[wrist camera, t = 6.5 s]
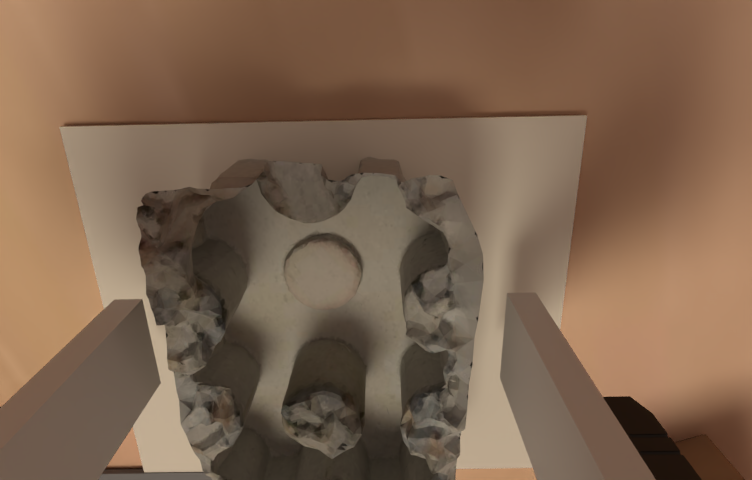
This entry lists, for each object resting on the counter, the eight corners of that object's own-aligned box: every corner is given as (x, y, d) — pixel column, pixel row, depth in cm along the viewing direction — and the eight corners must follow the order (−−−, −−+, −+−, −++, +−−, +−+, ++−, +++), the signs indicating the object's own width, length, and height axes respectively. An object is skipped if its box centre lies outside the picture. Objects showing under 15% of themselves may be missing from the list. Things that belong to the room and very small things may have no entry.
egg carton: (192, 142, 13) (115, 175, 9) (470, 154, 13) (508, 193, 9) (219, 454, 17) (172, 570, 13) (437, 462, 17) (454, 580, 13)
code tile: (145, 469, 17) (142, 474, 17) (62, 125, 13) (57, 127, 13) (541, 464, 17) (543, 469, 17) (584, 114, 13) (588, 115, 13)
